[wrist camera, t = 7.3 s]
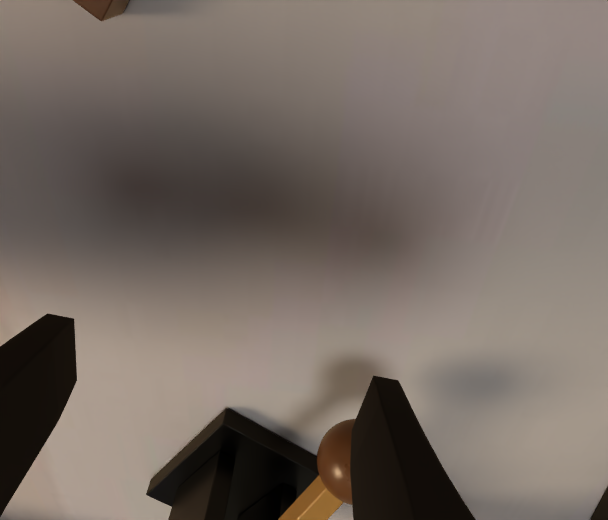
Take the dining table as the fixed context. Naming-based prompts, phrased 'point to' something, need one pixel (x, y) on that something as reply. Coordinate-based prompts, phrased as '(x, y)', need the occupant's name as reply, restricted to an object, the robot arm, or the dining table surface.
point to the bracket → (234, 473)
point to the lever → (327, 478)
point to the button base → (103, 7)
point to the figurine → (602, 508)
